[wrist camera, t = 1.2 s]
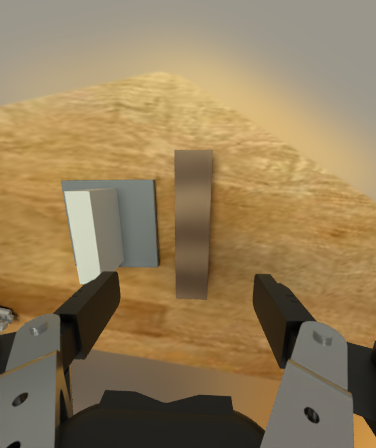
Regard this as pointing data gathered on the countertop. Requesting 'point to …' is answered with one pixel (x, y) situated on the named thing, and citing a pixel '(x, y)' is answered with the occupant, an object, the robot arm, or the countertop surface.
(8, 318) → the light grey flat bar
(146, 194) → the board
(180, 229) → the walnut bar
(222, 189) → the countertop surface
